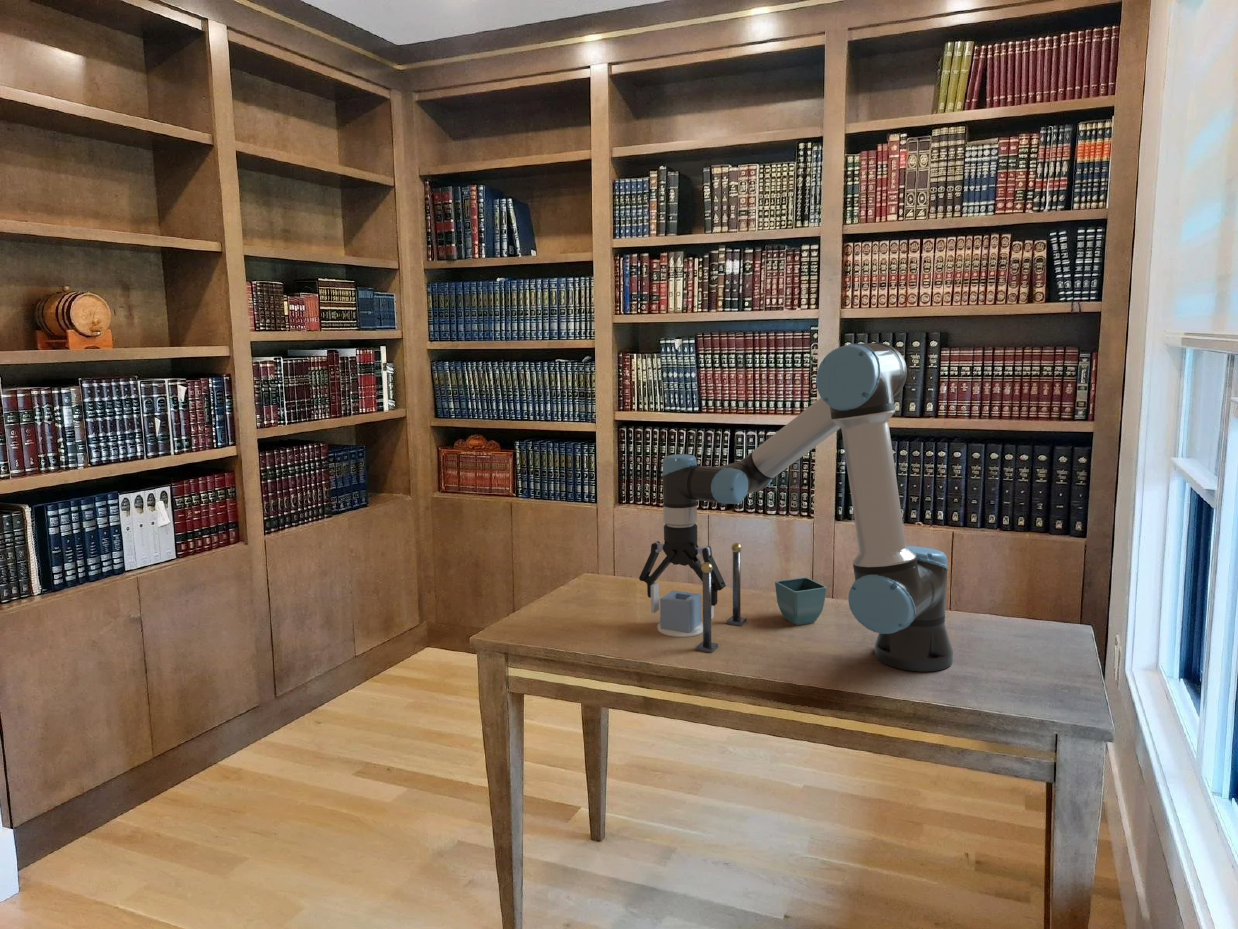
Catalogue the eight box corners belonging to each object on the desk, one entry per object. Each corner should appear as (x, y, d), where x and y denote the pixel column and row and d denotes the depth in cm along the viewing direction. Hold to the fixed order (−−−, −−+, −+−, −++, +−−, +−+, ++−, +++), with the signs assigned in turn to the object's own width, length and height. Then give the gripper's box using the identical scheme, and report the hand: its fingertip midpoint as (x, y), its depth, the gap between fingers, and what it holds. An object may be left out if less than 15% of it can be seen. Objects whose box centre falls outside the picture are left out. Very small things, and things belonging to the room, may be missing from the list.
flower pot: (827, 624, 195) (828, 586, 193) (794, 630, 191) (795, 591, 190) (805, 613, 203) (806, 576, 201) (773, 618, 199) (773, 581, 198)
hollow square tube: (701, 623, 195) (700, 594, 194) (689, 633, 189) (688, 603, 188) (673, 619, 198) (672, 590, 197) (660, 628, 192) (660, 598, 191)
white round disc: (712, 624, 196) (712, 622, 196) (694, 640, 186) (694, 637, 186) (669, 617, 201) (669, 615, 201) (649, 632, 192) (649, 630, 191)
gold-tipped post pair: (746, 621, 198) (746, 541, 195) (712, 653, 179) (711, 565, 176) (732, 619, 199) (731, 540, 196) (696, 650, 181) (695, 563, 178)
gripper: (739, 524, 187) (739, 617, 190) (638, 516, 199) (640, 603, 202) (726, 531, 181) (728, 627, 184) (623, 523, 192) (625, 613, 196)
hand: (682, 615), depth 193 cm, fingers open, 13 cm apart
